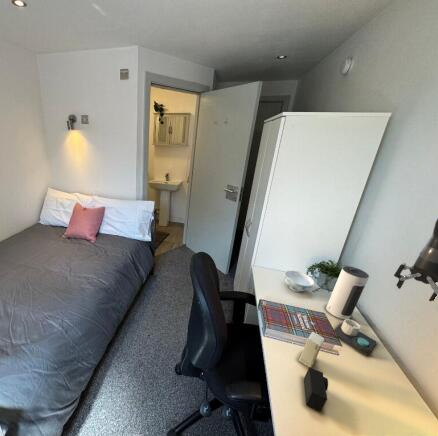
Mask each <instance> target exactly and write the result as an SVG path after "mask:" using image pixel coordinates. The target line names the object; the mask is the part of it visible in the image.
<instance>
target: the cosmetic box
mask: <svg viewBox="0 0 438 436" xmlns="http://www.w3.org/2000/svg"><path fill="white" fill-rule="evenodd" d="M324 341H325V337H323V336H321V335H320V334H318V333H316V332H315V331H311V333H310V335H309V336H308V338H307V339H306V342H305V345H304V347H303V349H302V352H301V354H300V357H299V359H298V361H299V362H300V363H301V364H303V365H304V366H306V367H308V368H309V367H311V368H313V365H314V363H315V361H316V359H317V358H318V355H319V352H320V350H321V348H322V345H323V343H324Z"/></svg>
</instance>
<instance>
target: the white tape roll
mask: <svg viewBox="0 0 438 436" xmlns="http://www.w3.org/2000/svg"><path fill="white" fill-rule="evenodd" d="M342 322H343V324H342V326H341V329H342V331H343V332H344V333H346V334H347V335H349V336H356V335H357V334H358V332H360V330H361V328H362V326H361V325H360V324H359V323H358V322H357V321H355V320H353V319H351V318H350V319H343V321H342Z"/></svg>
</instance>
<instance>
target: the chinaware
mask: <svg viewBox="0 0 438 436" xmlns="http://www.w3.org/2000/svg"><path fill="white" fill-rule="evenodd" d="M284 280H285V283H286V284H287V285H288V288H289V289H290V290H292V291H294V292H297V293H301V292H304V291H308V290H310V289H311V288H312V287H313V286H314V284H315V281H314V279H313V278H312V277H311V276H310V275H308V274H306V273H304V272H302V271H301V272H300V271H299V270H287V271H285V272H284Z"/></svg>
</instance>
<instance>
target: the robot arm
mask: <svg viewBox="0 0 438 436" xmlns="http://www.w3.org/2000/svg"><path fill="white" fill-rule="evenodd" d="M407 270H409V271H410V273H407V274H404V275H403V274H402V272H403V271H407ZM393 277H395V278H397V279H398V281H397V283H396V285H395V286H396V287H397V289H399V290H400V289H401V288H402V287H403V285H404V283H405V281H408V280H412V279H414V280H415V281H417V282H421V283H423V284H426V285H430V288H431V289H432V290H433V293H432V294H431V296H430V297H429V299H428V301H429V302H435V301H434V299H435V297H436V296H437V294H438V286H437V285H436V284H435V283H436V282H437V283H438V216H437V218H436V220H435V222H434V226H433V229H432V233H431V235H430V236H429V238H428V240H427V242H426V244H425V245H424V246H423V247H422V249H421V250H420V252H419V255H418V256H417V258H416V260H415V262H414V263H413V265H412V266H411V265H408V264H407V263H405V262H402V263H400V265H399V267H398V268H397V269H396V271H395V273H394V274H393Z"/></svg>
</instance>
